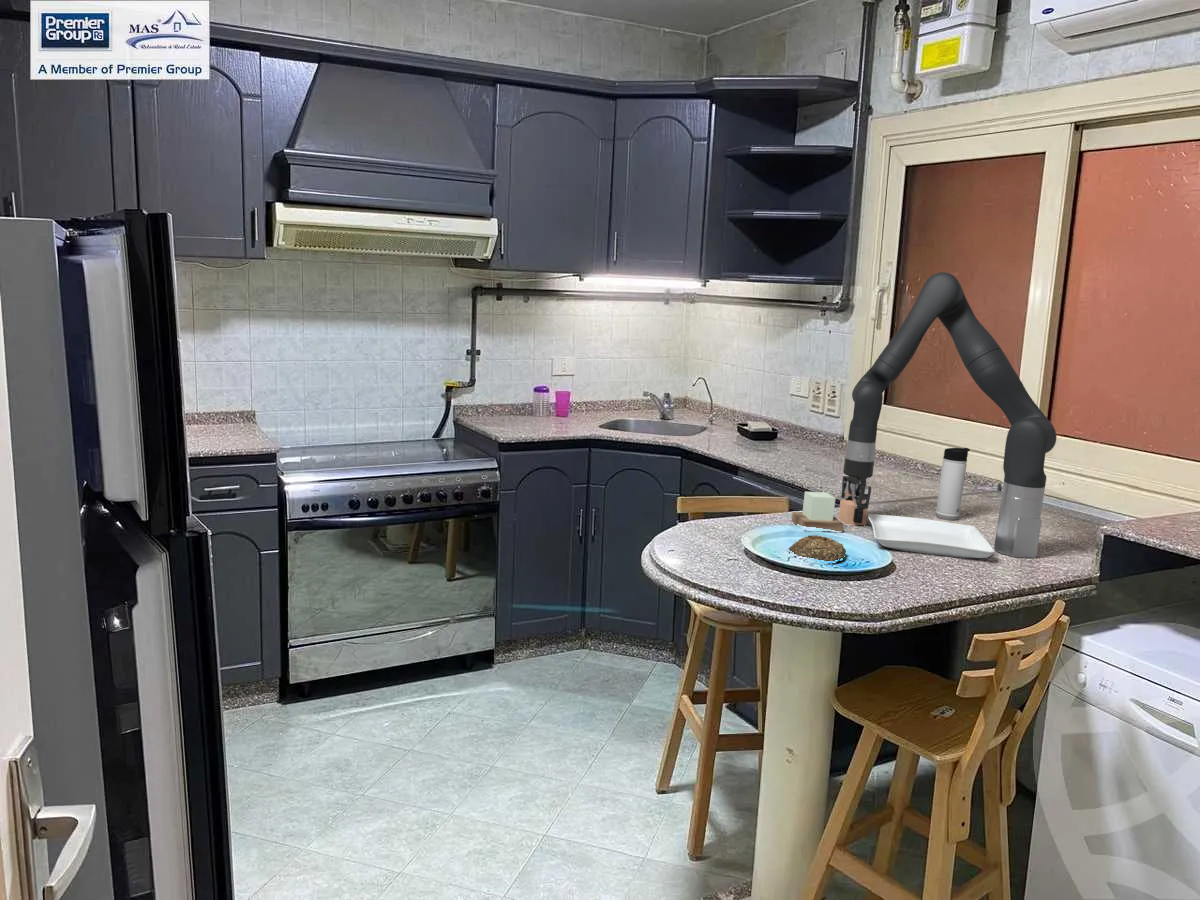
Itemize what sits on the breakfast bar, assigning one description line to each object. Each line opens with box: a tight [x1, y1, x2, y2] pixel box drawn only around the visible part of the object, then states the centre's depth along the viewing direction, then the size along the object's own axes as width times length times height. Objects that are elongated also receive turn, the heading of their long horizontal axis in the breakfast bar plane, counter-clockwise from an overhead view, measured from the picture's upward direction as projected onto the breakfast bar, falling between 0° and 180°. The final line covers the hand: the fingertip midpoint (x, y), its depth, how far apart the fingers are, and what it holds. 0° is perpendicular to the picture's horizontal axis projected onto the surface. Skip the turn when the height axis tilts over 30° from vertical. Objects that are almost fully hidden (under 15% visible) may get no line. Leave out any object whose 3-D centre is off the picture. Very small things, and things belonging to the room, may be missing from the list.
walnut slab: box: [791, 511, 844, 532], centre depth 242 cm, size 10×10×2 cm
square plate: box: [867, 513, 996, 559], centre depth 233 cm, size 27×27×4 cm
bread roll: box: [788, 534, 847, 561], centre depth 215 cm, size 13×12×5 cm
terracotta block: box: [837, 499, 869, 526], centre depth 249 cm, size 6×6×6 cm
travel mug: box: [935, 447, 970, 521], centre depth 261 cm, size 6×7×20 cm
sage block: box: [802, 491, 836, 521], centre depth 241 cm, size 6×6×6 cm
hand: (852, 519), depth 249 cm, fingers open, 6 cm apart
